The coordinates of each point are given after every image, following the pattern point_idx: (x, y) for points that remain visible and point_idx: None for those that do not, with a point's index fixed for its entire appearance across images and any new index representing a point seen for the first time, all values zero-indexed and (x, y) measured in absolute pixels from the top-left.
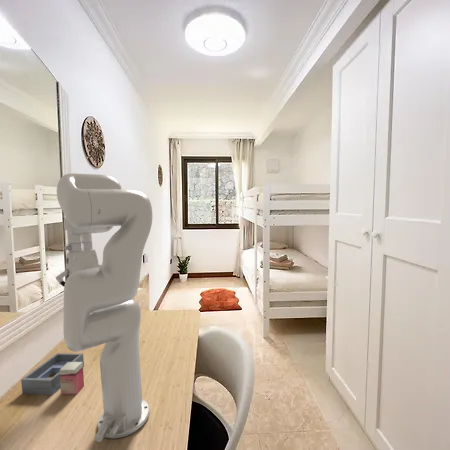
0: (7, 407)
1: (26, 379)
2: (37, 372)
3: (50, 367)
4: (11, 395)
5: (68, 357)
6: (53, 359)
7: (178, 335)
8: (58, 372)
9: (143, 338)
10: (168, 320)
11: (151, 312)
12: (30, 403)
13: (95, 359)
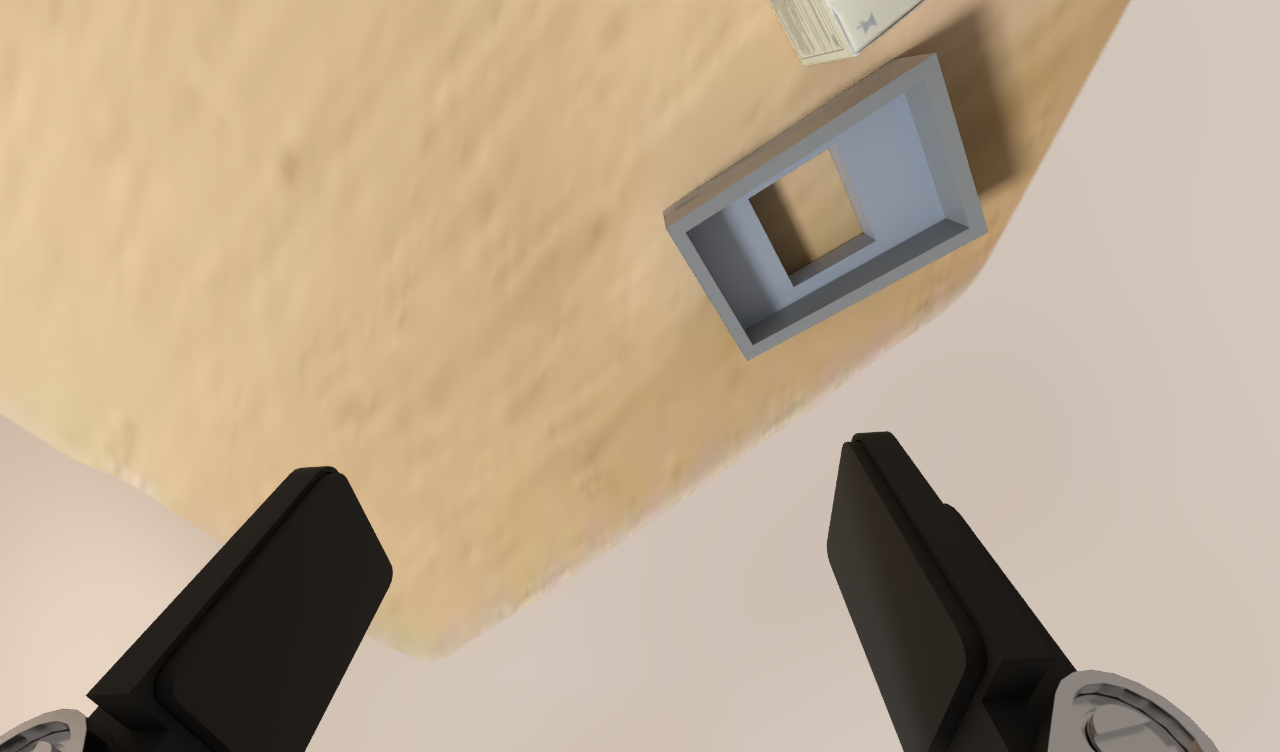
0: (1035, 153)
1: (978, 206)
2: (885, 264)
3: (797, 298)
4: (970, 245)
5: (719, 288)
6: (781, 324)
7: (15, 10)
8: (861, 117)
9: (282, 213)
10: (58, 301)
11: (153, 478)
12: (979, 84)
13: (594, 224)
